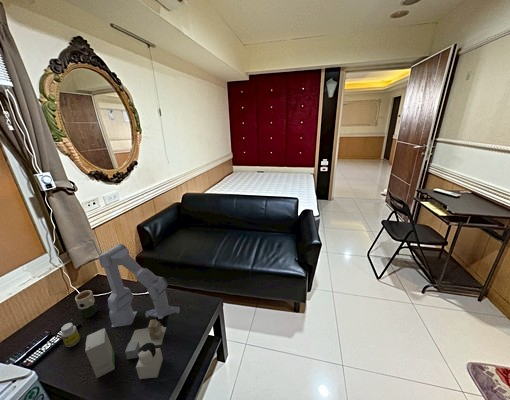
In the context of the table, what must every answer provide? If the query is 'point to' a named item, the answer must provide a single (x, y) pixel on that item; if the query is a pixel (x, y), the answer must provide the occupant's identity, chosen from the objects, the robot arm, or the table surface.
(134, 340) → the felt mat
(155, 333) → the birch block
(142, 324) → the table surface
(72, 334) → the supplement bottle
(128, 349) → the slate block
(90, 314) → the character mug
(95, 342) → the skincare box
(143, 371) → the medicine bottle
